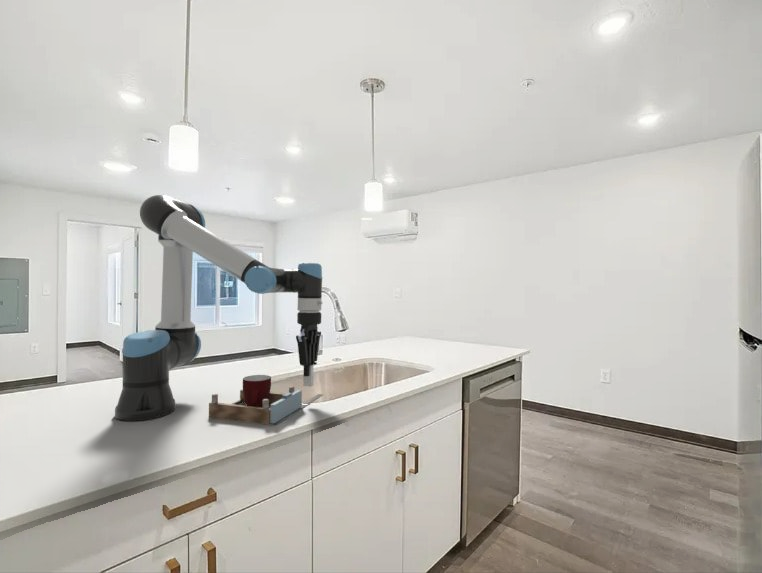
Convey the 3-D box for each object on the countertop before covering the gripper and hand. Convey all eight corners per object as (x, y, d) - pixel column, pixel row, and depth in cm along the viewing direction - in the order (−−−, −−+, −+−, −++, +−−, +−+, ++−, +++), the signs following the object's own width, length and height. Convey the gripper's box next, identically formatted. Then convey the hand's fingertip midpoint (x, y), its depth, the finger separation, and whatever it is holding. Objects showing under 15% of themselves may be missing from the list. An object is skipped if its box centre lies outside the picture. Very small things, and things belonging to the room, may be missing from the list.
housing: (208, 417, 110) (208, 394, 110) (268, 389, 139) (268, 372, 139) (275, 425, 104) (275, 401, 104) (323, 395, 133) (323, 376, 133)
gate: (269, 422, 105) (269, 401, 105) (297, 406, 120) (297, 387, 119) (274, 423, 104) (275, 402, 104) (302, 406, 119) (302, 387, 119)
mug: (271, 417, 111) (271, 382, 111) (241, 419, 108) (241, 384, 108) (270, 406, 121) (270, 374, 121) (242, 408, 118) (243, 375, 118)
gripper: (310, 313, 116) (309, 392, 116) (328, 310, 129) (327, 381, 129) (288, 312, 118) (287, 389, 118) (308, 310, 131) (307, 379, 131)
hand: (308, 385), depth 124 cm, fingers closed
